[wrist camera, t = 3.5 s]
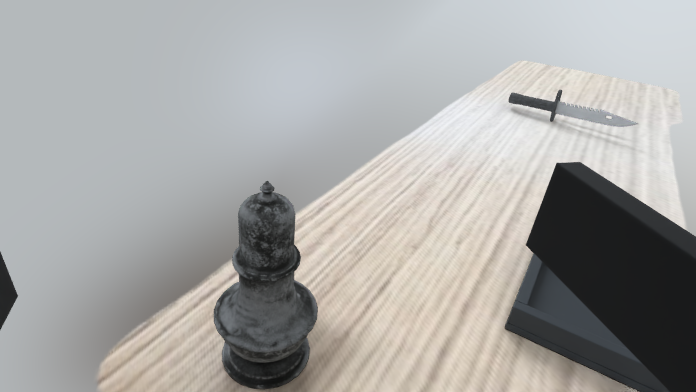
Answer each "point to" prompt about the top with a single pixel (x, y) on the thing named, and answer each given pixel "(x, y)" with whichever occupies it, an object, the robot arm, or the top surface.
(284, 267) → the salt shaker
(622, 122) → the knife
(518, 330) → the serving tray
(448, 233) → the top surface
